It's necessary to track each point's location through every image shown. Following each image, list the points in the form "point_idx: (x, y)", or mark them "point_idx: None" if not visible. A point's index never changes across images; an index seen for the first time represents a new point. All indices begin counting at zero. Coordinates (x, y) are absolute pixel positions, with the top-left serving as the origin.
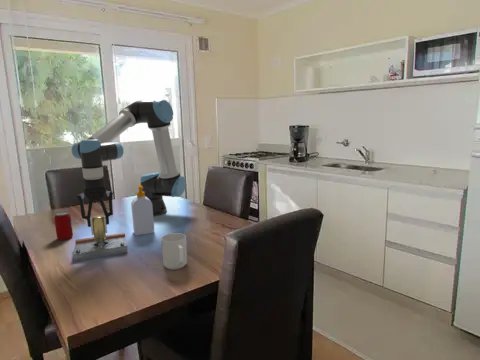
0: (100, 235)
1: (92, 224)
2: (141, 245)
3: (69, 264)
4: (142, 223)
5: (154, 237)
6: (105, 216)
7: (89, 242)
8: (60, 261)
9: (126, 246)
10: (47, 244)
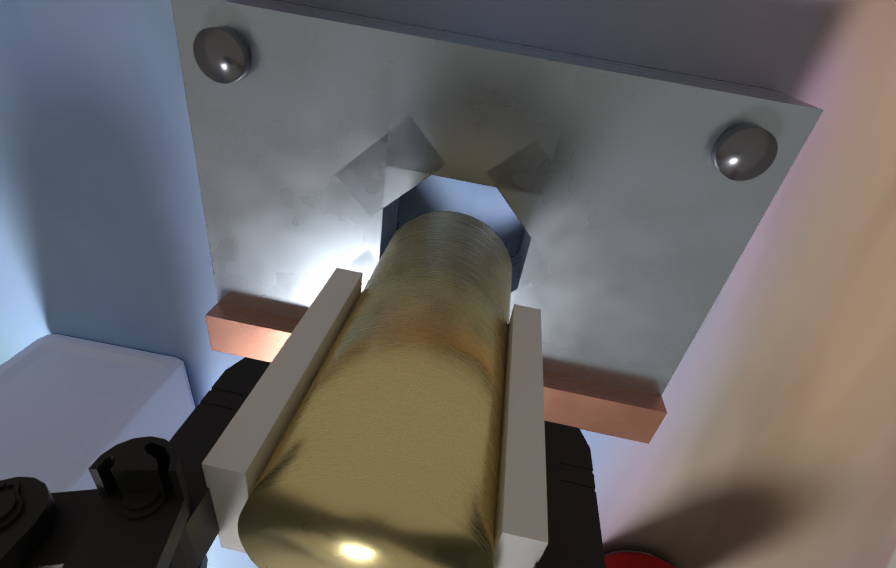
0: (433, 249)
1: (511, 430)
2: (104, 116)
3: (860, 22)
4: (52, 418)
5: (23, 238)
6: (179, 497)
7: (543, 348)
8: (879, 180)
9: None
10: (765, 548)
